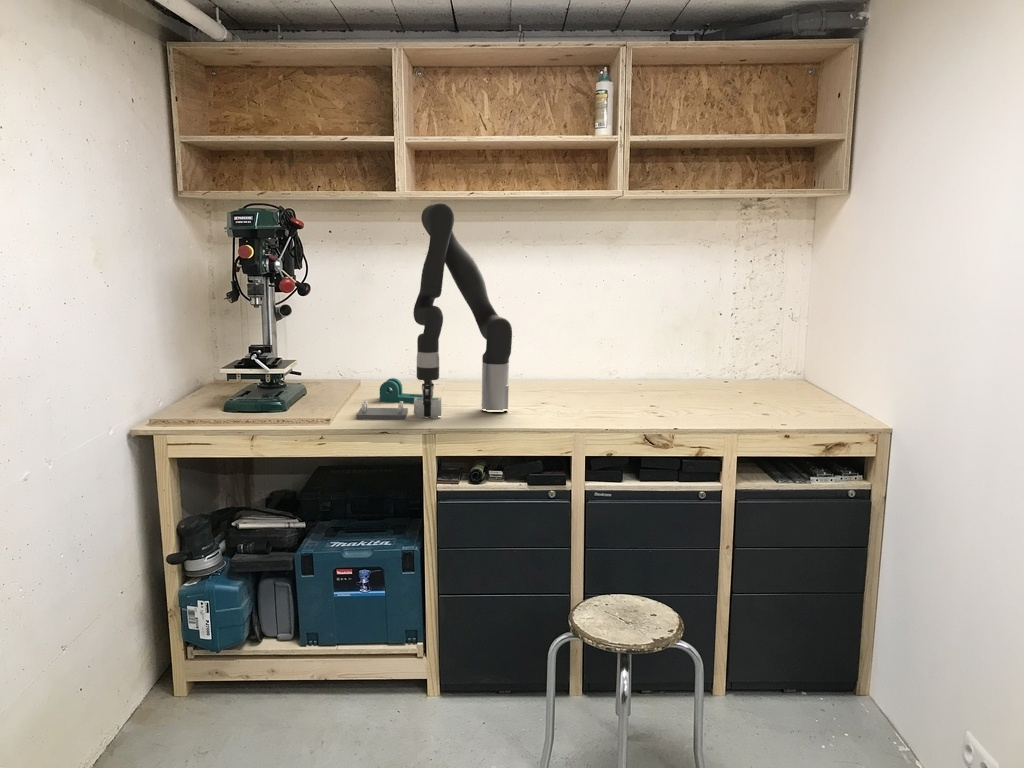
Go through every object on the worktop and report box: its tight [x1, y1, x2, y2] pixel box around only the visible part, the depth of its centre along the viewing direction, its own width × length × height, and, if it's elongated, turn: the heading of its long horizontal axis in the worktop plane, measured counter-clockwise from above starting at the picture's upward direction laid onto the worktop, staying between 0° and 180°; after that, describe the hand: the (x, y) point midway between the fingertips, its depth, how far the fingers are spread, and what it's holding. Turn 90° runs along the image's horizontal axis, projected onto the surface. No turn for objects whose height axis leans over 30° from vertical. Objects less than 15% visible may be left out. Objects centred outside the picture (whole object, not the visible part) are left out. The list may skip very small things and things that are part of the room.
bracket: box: [379, 377, 422, 404], centre depth 252 cm, size 18×7×8 cm, turn 85°
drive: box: [413, 397, 443, 418], centre depth 231 cm, size 9×4×6 cm, turn 93°
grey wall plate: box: [356, 400, 409, 421], centre depth 230 cm, size 16×10×4 cm, turn 94°
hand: (427, 414), depth 231 cm, fingers closed on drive, 4 cm apart
